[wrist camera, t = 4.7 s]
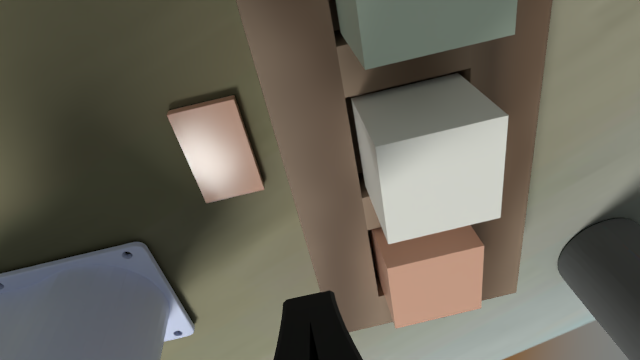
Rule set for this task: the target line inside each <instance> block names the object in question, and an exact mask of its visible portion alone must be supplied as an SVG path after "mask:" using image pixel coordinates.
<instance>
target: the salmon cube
mask: <svg viewBox="0 0 640 360" xmlns="http://www.w3.org/2000/svg"><path fill="white" fill-rule="evenodd" d="M369 231H370V237H371V243H372V249H373V255H374V261H375V267H376V271H377V274H378V277H379V280H380V283H381V286H382V289H383V292H384V295H385V298H386V301H387V304H388V307H389V310H390V313H391V316H392V319H393V322H394V325H395V328H400V327H404V326H408V325H412V324H416V323H421V322H425V321H429V320H433V319H437V318H442V317H446V316H450V315H454V314H458V313H463V312H467V311H471V310H475V309H479V308H481V300H482V280H483V261H484V244H483V243H482V241H481V240H480V239H479V237H478V236H477V234H476V233H475V231H474V230H473V228H472V227H471V225H468V226H464V227H460V228H455V229H451V230H447V231H443V232H439V233H434V234H430V235H426V236H422V237H418V238H413V239H409V240H405V241H401V242H397V243H392V244H388V242H387V240H386V237H385V235H384V232H383V230H382V227H379V228H375V229H371V230H369Z"/></svg>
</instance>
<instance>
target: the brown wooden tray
mask: <svg viewBox="0 0 640 360" xmlns="http://www.w3.org/2000/svg"><path fill="white" fill-rule="evenodd" d="M236 3H237V6H238V10H239V13H240V17H241V20H242V23H243V27H244V30H245V34H246V37H247V41H248V44H249V48H250V51H251V54H252V58H253V61H254V65H255V68H256V72H257V75H258V79H259V82H260V85H261V89H262V92H263V96H264V99H265V103H266V106H267V109H268V113H269V116H270V120H271V123H272V127H273V130H274V134H275V137H276V140H277V144H278V147H279V151H280V154H281V158H282V161H283V165H284V168H285V171H286V175H287V178H288V182H289V185H290V189H291V192H292V195H293V199H294V202H295V206H296V209H297V213H298V216H299V220H300V223H301V226H302V230H303V233H304V237H305V240H306V244H307V247H308V251H309V254H310V257H311V261H312V264H313V268H314V271H315V275H316V278H317V281H318V285H319V288H320V292H324V291H329V290H330V291H332V292H334V294H335V298H336V302H337V305H338V308H339V311H340V314H341V316H342V319H343V321H344V323H345V326H346V328H347V330H348V332H352V331H356V330H361V329H365V328H369V327H373V326H377V325H382V324H386V323H390V322H393V319H392V316H391V313H390V310H389V307H388V304H387V301H386V298H385V295H384V292H383V289H382V286H381V283H380V280H379V277H378V274H377V271H376V267H375V261H374V255H373V249H372V243H371V237H370V231H369V230H371V229H375V228H379V227H381V224H380V222H379V219H378V217H377V214H376V212H375V209H374V207H373V204H372V202H371V199H370V197H369V194H368V191H367V189H366V186H365V182H364V176H363V169H362V163H361V157H360V151H359V144H358V138H357V132H356V126H355V119H354V113H353V107H352V101H351V98H354V97H358V96H362V95H366V94H371V93H375V92H379V91H383V90H388V89H392V88H396V87H400V86H404V85H409V84H413V83H417V82H421V81H426V80H430V79H434V78H438V77H442V76H447V75H451V74H455V73H459V74H460V75H461V76H462V77H464V78H465V79H466V80H467V81H468V82H469V83H471V84H472V85H473V86H474V87H475V88H477V89H478V90H479V91H480V92H481V93H483V94H484V95H485V96H486V97H487V98H489V99H490V100H491V101H492V102H493V103H494V104H496V105H497V106H498V107H499V108H500V109H502V110H503V111H504V112H505V113H506V114H508V115H509V116H508V129H507V141H506V154H505V167H504V180H503V192H502V205H501V218H497V219H493V220H489V221H485V222H481V223H476V224H472V225H471V227H472V228H473V230H474V231H475V233H476V234H477V236H478V237H479V239H480V240H481V241H482V243H483V244H484V261H483V280H482V300H486V299H491V298H495V297H499V296H503V295H507V294H512V293H516V289H517V281H518V273H519V265H520V257H521V249H522V241H523V233H524V225H525V217H526V209H527V201H528V193H529V185H530V177H531V169H532V160H533V152H534V144H535V136H536V128H537V120H538V112H539V104H540V96H541V88H542V80H543V72H544V64H545V56H546V48H547V40H548V32H549V23H550V15H551V7H552V0H518V1H517V14H516V27H515V35H510V36H506V37H502V38H498V39H494V40H489V41H485V42H481V43H477V44H473V45H468V46H464V47H460V48H456V49H451V50H447V51H443V52H439V53H435V54H430V55H426V56H422V57H418V58H413V59H409V60H405V61H401V62H397V63H392V64H388V65H384V66H380V67H375V68H371V69H367V70H365V69H364V68H363V66H362V65H361V63H360V61H359V60H358V58H357V57H356V55H355V54H354V52H353V51H352V49H351V48H350V46H349V45H348V43H347V42H346V40H345V39H344V37H343V36H342V34H341V32H340V26H339V19H338V13H337V7H336V1H335V0H236ZM482 300H481V301H482Z"/></svg>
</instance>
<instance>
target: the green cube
mask: <svg viewBox="0 0 640 360" xmlns="http://www.w3.org/2000/svg"><path fill="white" fill-rule="evenodd" d="M335 1H336V7H337V13H338V19H339V26H340V32H341V34H342V36H343V37H344V39H345V40H346V42H347V43H348V45H349V46H350V48H351V49H352V51H353V52H354V54H355V55H356V57H357V58H358V60H359V61H360V63H361V65H362V66H363V68H364V69H365V70H367V69H371V68H375V67H380V66H384V65H388V64H392V63H397V62H401V61H405V60H409V59H413V58H418V57H422V56H426V55H430V54H435V53H439V52H443V51H447V50H451V49H456V48H460V47H464V46H468V45H473V44H477V43H481V42H485V41H489V40H494V39H498V38H502V37H506V36H510V35H515V27H516V14H517V1H518V0H335Z"/></svg>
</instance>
